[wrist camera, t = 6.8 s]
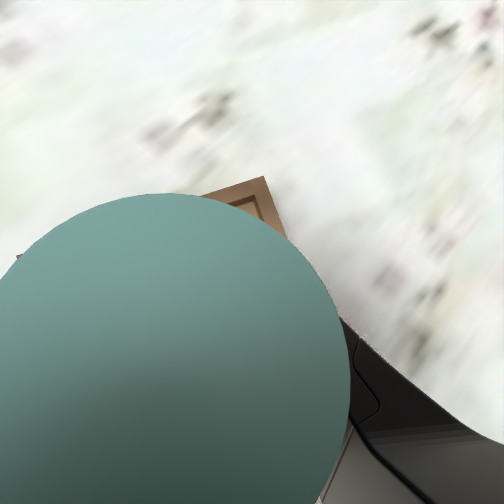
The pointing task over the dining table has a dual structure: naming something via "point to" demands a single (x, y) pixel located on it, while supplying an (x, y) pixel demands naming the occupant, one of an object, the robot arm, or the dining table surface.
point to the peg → (168, 361)
